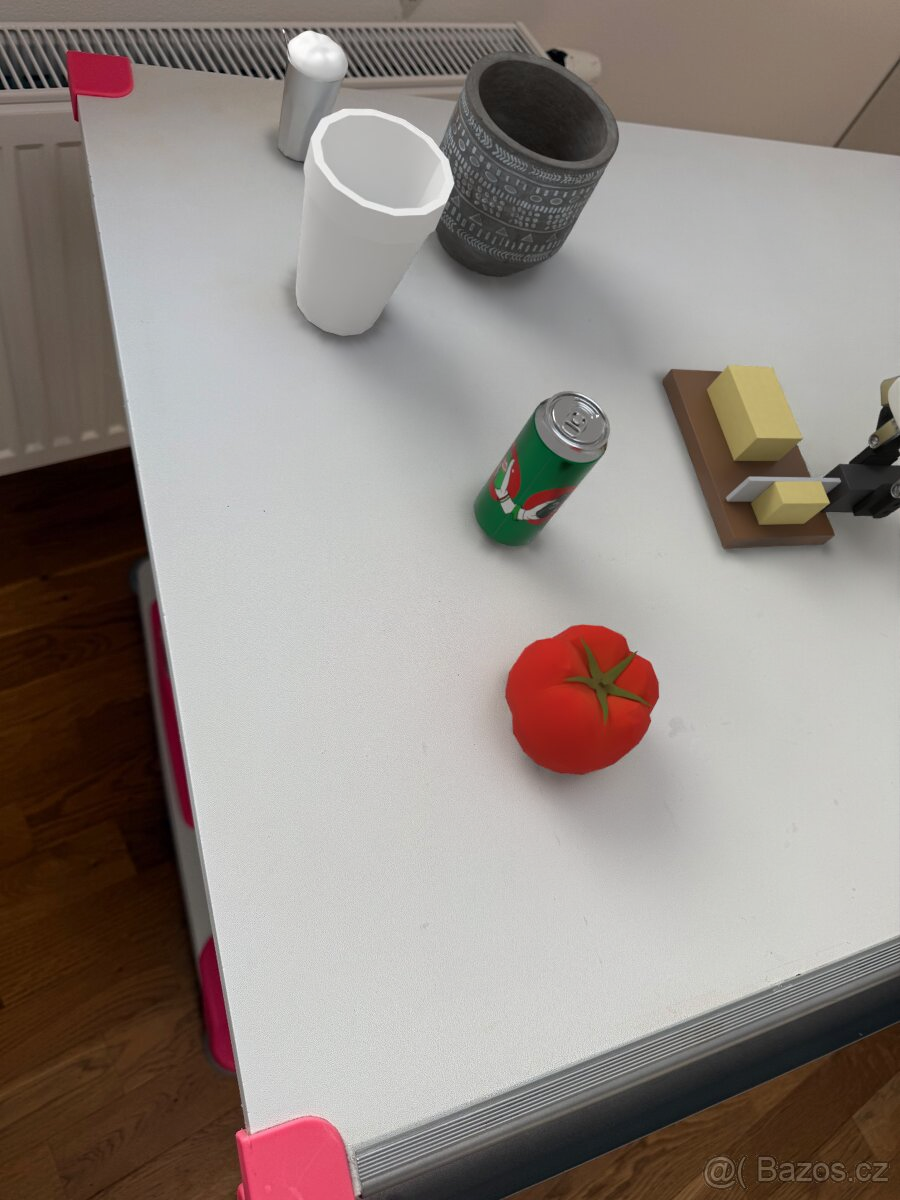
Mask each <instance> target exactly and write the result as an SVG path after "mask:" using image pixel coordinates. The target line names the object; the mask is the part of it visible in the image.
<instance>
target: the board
mask: <svg viewBox="0 0 900 1200" xmlns="http://www.w3.org/2000/svg"><path fill="white" fill-rule="evenodd" d="M722 372H723V370H722V371H721V370H699V369H684V368H683V369H681V368H679V369H678V368H670V370H669V371H668V372H667V374H666V375H664V377H663V378H662V381H661V382H662V384H663V387H664V389H665V392H666V395H667V398H668V400H669V403H670V405H671V408H672V411H673V414H674V416H675V419H676V422H677V424H678V427H679V431H680V433H681V437H682V439H683V441H684V444H685V446H686V449H687V452H688V455H689V457H690V461H691V463H692V466H693V469H694V471H695V474H696V477H697V479H698V483H699V484H700V488H701V490H702V493H703V496H704V498H705V501H706V504H707V506H708V510H709V512H710V515H711V518H712V521H713V523H714V526H715V528H716V532H717V533H718V537H719V540H720V542H721V545H722V548H723V549H738V548H740V549H741V548H761V547H762V548H763V547H765V548H766V547H787V546H788V547H789V546H812V545H813V546H815V545H816V546H817V545H825V544H826V543H827V542H828V541H830V540H831V539H833V538H834V537H835V536H836V533H835V531H834V529H833V526H832V524H831V522H830V519H829V517H828V513H821V512H820V511H819V512H818V513H817V514H816V515H814V516H813V517H812V518H811V519H809V520H808V521H807V522H806V523H804V524H773V525H759V524H758V521H757V518H756V516H755V513H754V510H753V508H752V505H751V502H728V501H727V499H726V497H727V496H728V495H729V494H730V493H731V492H732V491H734V490H735V489H736V488H737V487H738V486H739V485H740V484H741V483H742V482H744V481H745V480H746V479H747V478H748V477H806V478H812V476H811V474H810V473H811V472H810V471H809V468H808V466H807V464H806V462H805V459H804V457H803V455H802V452H801V450H800V447H799V445H798V444H796V445H795V446H794V447H793V448H792V449H791V450H790V451H789V452H788V453H787V454H786V455H784V456H783V457H782V458H781V459H780V460H779V461H734V459H733V457H732V454H731V452H730V449H729V446H728V444H727V441H726V439H725V436H724V434H723V431H722V428H721V426H720V423H719V421H718V418H717V415H716V413H715V410H714V408H713V405H712V402H711V400H710V397H709V395H708V392H707V388H708V387H709V386H710V385H711V384H712V383H713V382H714V381H715V379H716V378H717V377H718V376H719V375H720V374H721V373H722Z"/></svg>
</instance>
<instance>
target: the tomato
mask: <svg viewBox="0 0 900 1200" xmlns="http://www.w3.org/2000/svg"><path fill="white" fill-rule="evenodd" d="M638 651H639V650H636V651H634V652H633V651H632V650H630V647H629V644H628V640H627V638H626V637H625V636H624V635H623V634H621V633H619V632H618V631H615V630H613V629H611V628H608V627H606V626H604V625H597V624H595V625H594V624H583V623H581V624H576V625H570V626H569V627H567V628H566V629H564V630H562V631H561V632H560V633H557V634H556V635H555V636H552V637H546V638H542V639H536V640H534V641H533V642H532V643H530V644H529V645H527V646H526V647H525V648H523V650H522V652H521V653H520V654H519V656H518V658H517V659H516V661H515V662H514V664H513V665H512V667H511V668H510V670H509V672H508V675H507V680H506V685H505V689H504V698H505V700H506V703H507V705H508V708H509V711H510V714H511V721H512V734H513V736H514V738H515V740H516V741H517V743H518V745H519V747H520V748H521V750H522V752H523V753H524V754H525V755H526V756H527V757H529V758H530V759H531V760H532V761H533V762H534V763H535V764H536V765H537V766H539V767H542V768H544V769H546V770H549V771H552V772H554V773H556V774H562V775H578V776H585V775H586V774H591V773H593V772H594V773H595V772H597V771H600V770H603V769H605V768H608V767H610V766H613V765H615V764H616V763H617V762H618V761H620V760H621V759H623V758H624V757H625V756H626V755H627V754H629V753H630V752H631V751H632V750H633V749H635V748H636V747H637V746H638V745H639V744H640V743H641V741H642V740H643V738H644V736H645V735H646V734H647V732H648V730H649V728H650V726H651V722H652V718H651V714H652V713H653V711H654V708H655V706H656V705H657V703H658V701H659V699H660V682H659V679H658V677H657V674H656V672H655V669H654V666H653V664H652V662H651V661H650V660H648V659H647V658H644V657H643V656H641V655H639V654H637V653H638Z"/></svg>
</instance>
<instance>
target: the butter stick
mask: <svg viewBox="0 0 900 1200" xmlns="http://www.w3.org/2000/svg"><path fill="white" fill-rule="evenodd" d="M722 371H723V372H722V373H721V374H720V375H719V376H718V377H717V378H716V379H715V381H714V382H713V383H712V384H711V385H710V386H709V387H708V388H707V392H708V395H709V397H710V400H711V402H712V405H713V408H714V410H715V413H716V415H717V418H718V421H719V423H720V426H721V428H722V431H723V434H724V436H725V439H726V441H727V444H728V446H729V449H730V452H731V454H732V457H733V459H734V461H779V460H780V459H781V458H782V457H783V456H784V455H786V454H787V453H788V452H789V451H790V450H791V449H792V448H793V447H794V446H795V445H796V444H797V445H798V444H799V443H800V442H802V440H803V439H804V438H803V435H802V433H801V431H800V428H799V425H798V423H797V420H796V418H795V416H794V414H793V412H792V410H791V407H790V405H789V402H788V399H787V397H786V395H785V393H784V391H783V388H782V386H781V384H780V381H779V379H778V376H777V373H776V372H775V369H774V367H773V366H758V365H757V366H756V365H738V364H737V365H734V364H728V365H727V366H726V367H725V368H724V369H723V370H722Z"/></svg>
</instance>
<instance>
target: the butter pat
mask: <svg viewBox="0 0 900 1200" xmlns="http://www.w3.org/2000/svg"><path fill="white" fill-rule="evenodd" d="M828 504H830V502H829V499H828V497H827V495H826V492H825V490H824V487H823V485H822V483H821V482H820V481H776V482H774V483H773V484H772V485H771V486H770V487H768V488H767V489H766V490H765V491H764V492H763V493H762V494H761V495H759V496H758V497H757V498H756V499H755V500H754V501H753V502H751V505H752V508H753V510H754V513H755V516H756V518H757V521H758V524H759V525H773V524H804V523H806V522H807V521H808V520H809V519H811V518H812V517H813V516H814V515H816V514H817V513H818V512H819V511H821V510H822V509H823V508H825V507H826V506H827V505H828Z"/></svg>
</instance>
